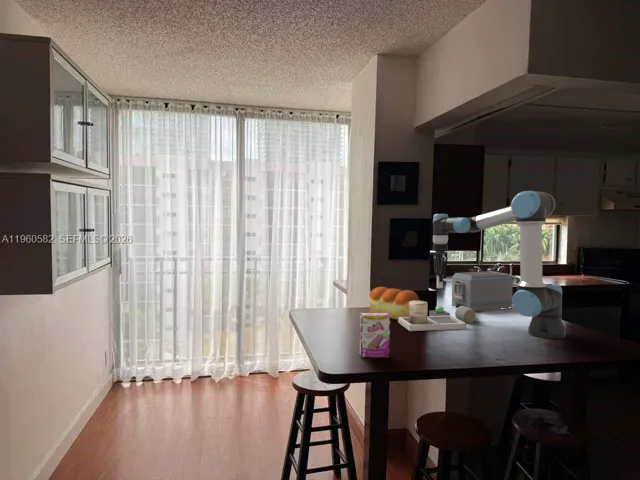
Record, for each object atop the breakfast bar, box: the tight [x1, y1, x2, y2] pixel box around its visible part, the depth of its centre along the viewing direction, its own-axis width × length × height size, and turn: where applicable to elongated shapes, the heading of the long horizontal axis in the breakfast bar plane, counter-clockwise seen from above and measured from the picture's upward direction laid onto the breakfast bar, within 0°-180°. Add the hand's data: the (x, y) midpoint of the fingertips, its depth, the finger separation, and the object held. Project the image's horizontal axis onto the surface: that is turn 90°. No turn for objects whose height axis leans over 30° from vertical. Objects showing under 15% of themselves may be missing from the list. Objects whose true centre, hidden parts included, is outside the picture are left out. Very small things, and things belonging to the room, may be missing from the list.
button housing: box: [428, 309, 451, 316], centre depth 229 cm, size 8×8×4 cm
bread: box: [367, 286, 420, 321], centre depth 236 cm, size 25×12×15 cm, turn 46°
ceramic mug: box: [454, 306, 479, 324], centre depth 222 cm, size 11×8×8 cm
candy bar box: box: [359, 312, 391, 359], centre depth 166 cm, size 11×5×16 cm, turn 92°
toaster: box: [451, 270, 514, 312], centre depth 257 cm, size 19×33×20 cm, turn 109°
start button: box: [435, 306, 444, 313], centre depth 229 cm, size 4×4×4 cm
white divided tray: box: [397, 315, 467, 332], centre depth 214 cm, size 17×28×3 cm, turn 98°
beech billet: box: [409, 300, 428, 325], centre depth 213 cm, size 9×9×10 cm
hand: (439, 287), depth 229 cm, fingers closed
